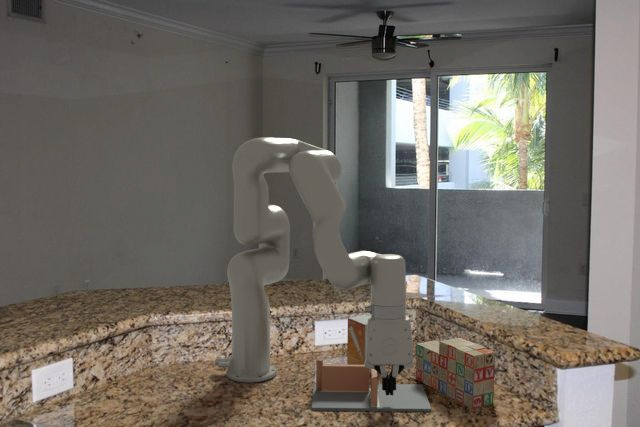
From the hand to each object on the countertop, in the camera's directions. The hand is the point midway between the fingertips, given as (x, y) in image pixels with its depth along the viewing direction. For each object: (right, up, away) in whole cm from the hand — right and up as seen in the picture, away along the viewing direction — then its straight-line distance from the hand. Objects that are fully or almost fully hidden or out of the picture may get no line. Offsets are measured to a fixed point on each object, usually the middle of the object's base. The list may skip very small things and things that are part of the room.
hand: (389, 393), depth 144 cm
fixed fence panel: (-10, -2, +9) cm, 13 cm away
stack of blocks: (+16, -3, +10) cm, 19 cm away
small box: (-3, -1, +26) cm, 27 cm away
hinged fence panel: (-3, -2, +4) cm, 5 cm away
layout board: (-4, -3, +5) cm, 7 cm away
